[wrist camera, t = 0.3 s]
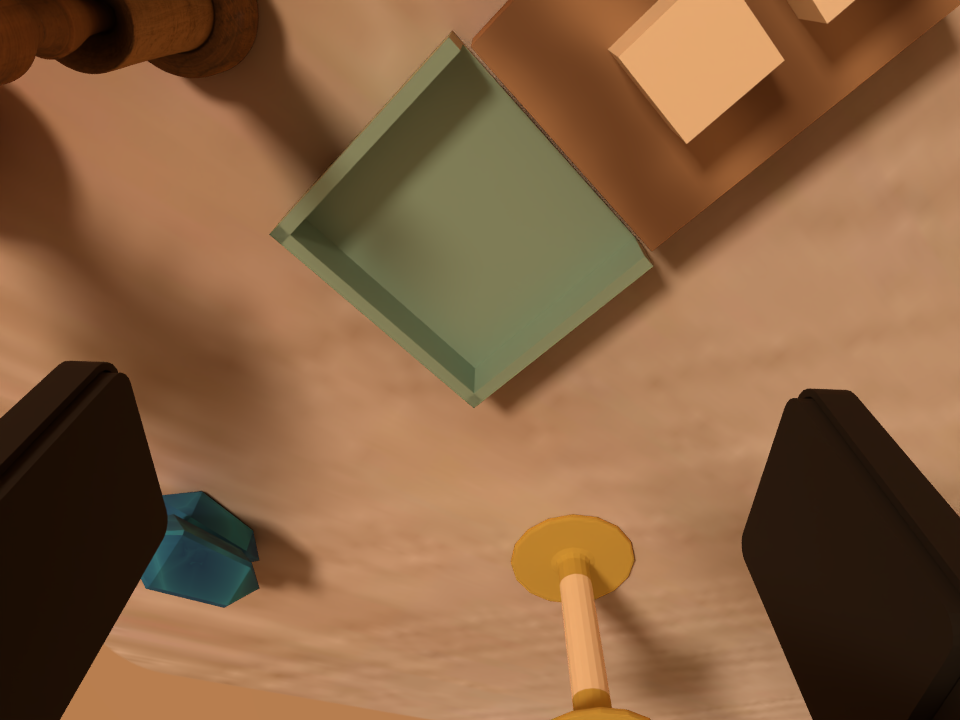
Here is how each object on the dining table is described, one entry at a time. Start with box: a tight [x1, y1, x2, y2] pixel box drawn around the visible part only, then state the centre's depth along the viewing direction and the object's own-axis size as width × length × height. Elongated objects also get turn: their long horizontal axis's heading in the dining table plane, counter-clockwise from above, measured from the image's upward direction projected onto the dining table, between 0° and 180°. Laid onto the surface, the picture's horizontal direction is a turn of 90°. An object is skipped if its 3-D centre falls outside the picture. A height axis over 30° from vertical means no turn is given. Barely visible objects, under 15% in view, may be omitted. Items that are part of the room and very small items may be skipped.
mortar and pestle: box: [0, 0, 258, 85], centre depth 26 cm, size 7×6×18 cm
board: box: [471, 0, 960, 251], centre depth 32 cm, size 18×14×4 cm
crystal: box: [141, 491, 259, 608], centre depth 48 cm, size 7×9×12 cm
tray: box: [269, 31, 653, 408], centre depth 38 cm, size 14×16×4 cm
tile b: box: [608, 0, 784, 144], centre depth 29 cm, size 5×5×3 cm
